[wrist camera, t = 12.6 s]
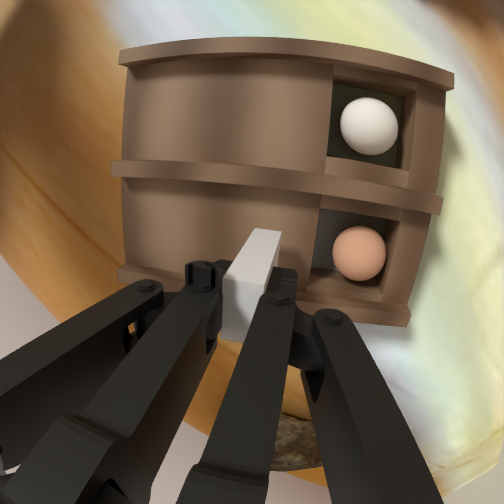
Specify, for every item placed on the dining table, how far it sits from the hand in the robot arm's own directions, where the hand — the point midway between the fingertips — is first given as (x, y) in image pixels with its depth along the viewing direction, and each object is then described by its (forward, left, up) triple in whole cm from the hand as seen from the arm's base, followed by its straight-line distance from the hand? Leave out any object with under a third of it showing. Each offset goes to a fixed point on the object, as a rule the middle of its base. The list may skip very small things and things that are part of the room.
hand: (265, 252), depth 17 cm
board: (0, +4, -4) cm, 6 cm away
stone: (+3, -22, -5) cm, 23 cm away
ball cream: (+5, +8, -3) cm, 10 cm away
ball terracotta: (+6, 0, -3) cm, 6 cm away
